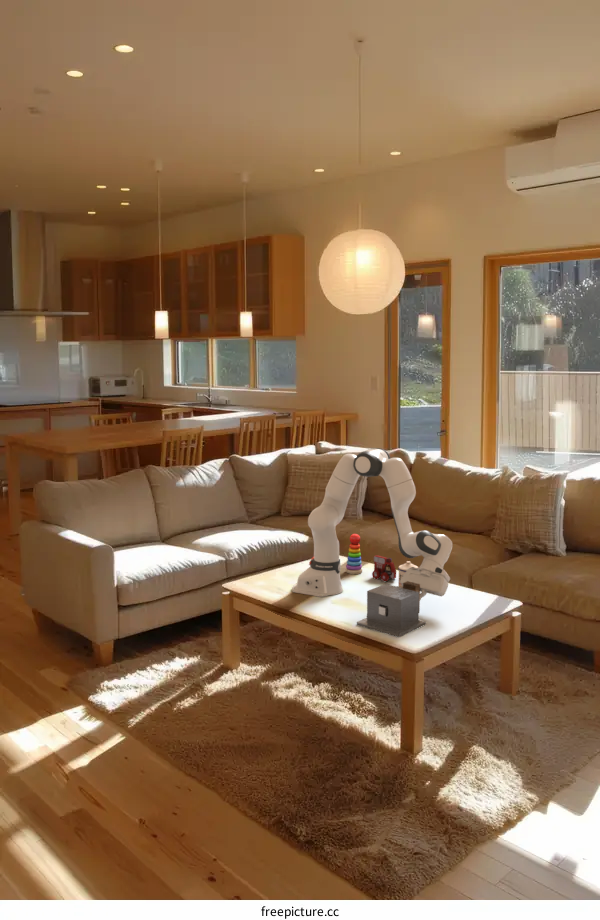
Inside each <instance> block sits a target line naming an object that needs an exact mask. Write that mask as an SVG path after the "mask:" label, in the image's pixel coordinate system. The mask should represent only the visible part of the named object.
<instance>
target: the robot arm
mask: <svg viewBox="0 0 600 920" xmlns="http://www.w3.org/2000/svg"><path fill="white" fill-rule="evenodd" d="M360 476H362V477H367V478H369V477H378V476H380V477H381V478H382V479H383V480H384V482H385V486H386V488H387V489H386V490H387V492H388V493H389V494H388V495H389V499H390V509H391V514H392V517H393V520H394V525H395V528H396V532H397V537H398V549H399V551H400V554H402V555H403V556H404V557H405V558H407V559H414V558H417V557H419V556H422V557H423V559H422V562H421V564H420V565H419V567H418V568H415V567H411V568H408V569H407V571H406V572H405V574H404V575H403V577H402V578H401V580H400V583H401V585H402V586H403V583H404V582H407V581H409V582H413V583H417V584H420V601H421V600H422V598H424V597H425V596H426V595H427V594H428V595H430V594H431V595H433V596H434V595H435V596H438V597H443V596H444V595H445V594H446V592H447V590H448V586H449V582H450V580H451V577H450V576H449V574H448V573H447V571H446V570H445V569H444V566H445V564H446V563H447V562H448V560H449V558H450V555H451V552H452V550H453V541H452V539H450V537H449V536H448V535H445V534H441V533H432V532H430V531H429V530H419V531H416V532H414V531H413V530H412V525H411V522H410V518H409V514H408V513H409V512H408V511H409V507H410V505H411V503H412V502H413V501H414V499H415V498H416V495H417V491H416V489H417V488H416V485H415V483H414V481H413V477H412V475H411V472H410V470H409V469H408V466H407V465H406V463H405V462H404V461H403V459H402V458H400V457H391V456H390V453H389V452H388V451H387V450H385V449H384V448H379V447H376V448H370V449H367V450H365V451H361V452H359V453H358V454H353V453H345V454H343V455H342V457H341V458H340V459H339V461H338V462H337V464H336V466H335V468H334V470H333V471H332V473H331V476H330V478H329V480H328V483H327V484H326V487H325V493H324V497H323V500H322V502H321V504H320V505H319V506H317V507H315V508H314V509H312V511H311V512H310V514H309V515H308V518H307V525H308V527H309V529H310V530H311V534H312V538H313V556H312V557H311V559H310V560H309V564H308V565H309V567H308V568H306V569H305V570H303V571H302V572H301V573H300V574H299V575H298V577H297V580H296V581H297V582H296V583H295V584H294V585H292V587H291V588H292V589H291V591H292V593H297V594H302V595H303V594H304V595H309V596H314V597H321V598H322V597H327V596H334V595H338V594H341V593H343V591H344V590H343V585H342V580H341V564H342V563H341V559H340V541H339V539H338V537H337V532H336V526H337V525H339V524H340V523H341V522H342V520H343V519H344V517H345V512H346V509H347V507H348V503H349V500H350V498H351V495H352V493H353V492H354V489H355V487H356V485H357V482H358V480H359V478H360Z"/></svg>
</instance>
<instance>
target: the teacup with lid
mask: <svg viewBox="0 0 600 920" xmlns="http://www.w3.org/2000/svg"><path fill="white" fill-rule="evenodd" d="M411 567H415V568H419V566H417V565H415V564H414V563H412V562H411V561H410V560H409V561H408V560H407V561H406V562H405V563H403V564H400V565H398V568H397V569H398V587H400V588H403V586H402V585H401V583H400V580H401V578H402V577H403V575H404V574H405V572H406V571H407V569H408V568H411Z"/></svg>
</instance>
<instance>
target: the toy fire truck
mask: <svg viewBox="0 0 600 920" xmlns="http://www.w3.org/2000/svg"><path fill="white" fill-rule="evenodd" d="M373 562H374V564H373V571H372V573H371V576H372V578H373V579H374V578H375V579H374V580H379V579H380V580H381V581H382V582H384V581H386V582H388V581H389V580H390V578H391V580H394V579H396V578H397V570H396V566H395V564H394V561H393V562H392V558H390V557H386V556H382V555H378V554H377V555H374V556H373Z"/></svg>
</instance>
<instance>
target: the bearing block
mask: <svg viewBox="0 0 600 920" xmlns="http://www.w3.org/2000/svg"><path fill="white" fill-rule="evenodd" d="M366 594H367V595H366V606H367V607H366V617H365V618H362V619H361V620H358V621H356V626H359V627H363V628H366V629H369V630H373V631H376V632H379V633H381V634H386V635H388V636H392V637H396V638H401V637H403V636H404V635H407V634H409V633H411V632H414V631H415V630H418V629H419V627H420V628H421V626H422V627H424V626H426V625H427V621H425V620H422V619H419V615H420V611H419V592H416V591H412V590H408V589H404V588H400V587H399V586H396V585H391V584H387V583H384V584H382V585H380V586H379V585H378V586H376V587H374V588H372V589H369V590H367V591H366ZM381 605H384V606H388V615H386V616H385V615H381V614H379V606H381ZM425 624H426V625H425ZM423 625H424V626H423ZM417 628H418V629H417Z"/></svg>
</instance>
